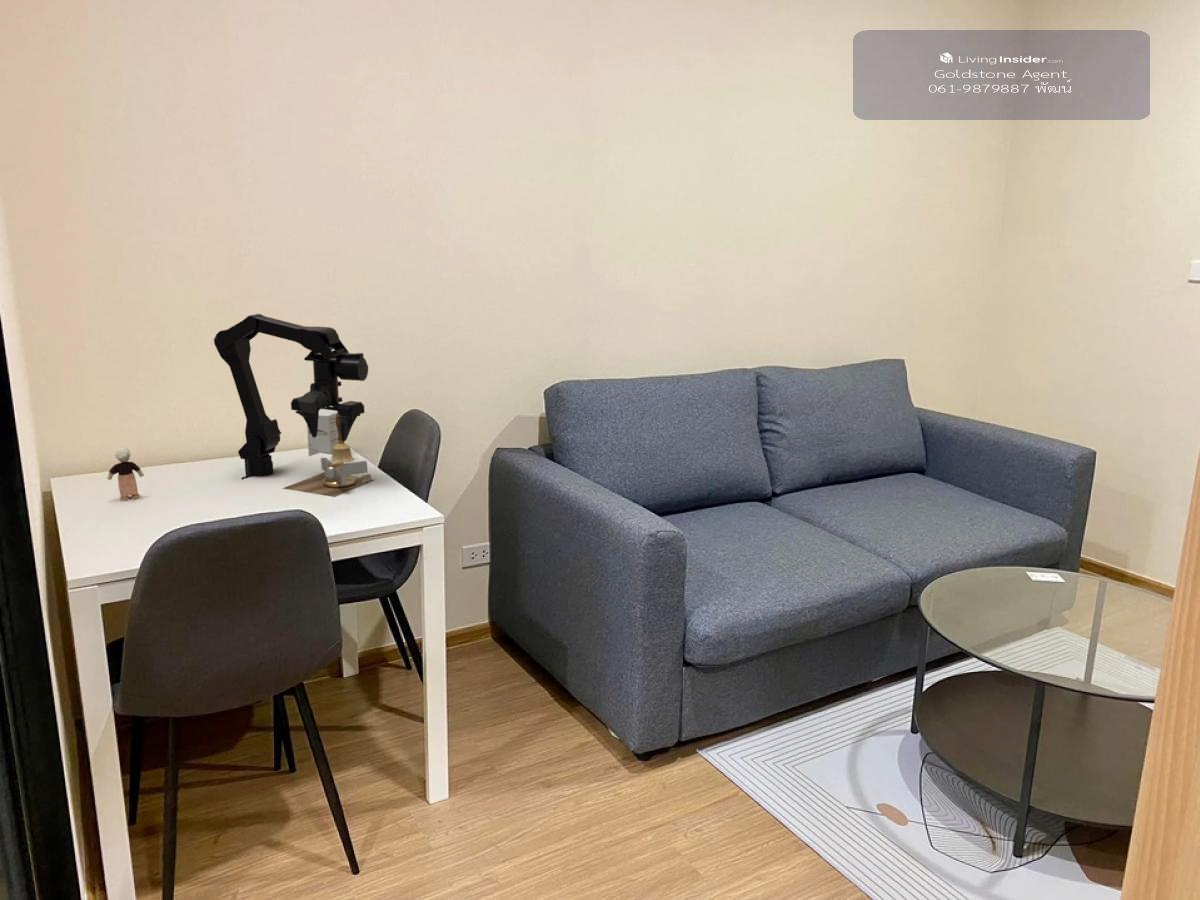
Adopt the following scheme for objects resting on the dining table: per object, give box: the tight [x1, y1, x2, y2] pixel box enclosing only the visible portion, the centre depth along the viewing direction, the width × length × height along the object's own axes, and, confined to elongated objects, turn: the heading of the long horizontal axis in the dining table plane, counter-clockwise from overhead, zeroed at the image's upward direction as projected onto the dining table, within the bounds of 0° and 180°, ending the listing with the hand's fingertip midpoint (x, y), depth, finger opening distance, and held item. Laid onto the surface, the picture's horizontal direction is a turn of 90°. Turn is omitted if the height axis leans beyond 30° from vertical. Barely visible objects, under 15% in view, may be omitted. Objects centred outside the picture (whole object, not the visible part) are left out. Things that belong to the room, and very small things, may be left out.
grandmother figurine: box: [107, 447, 144, 501], centre depth 222 cm, size 8×4×13 cm, turn 134°
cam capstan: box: [320, 457, 369, 487], centre depth 234 cm, size 11×17×5 cm, turn 32°
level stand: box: [282, 472, 375, 498], centre depth 233 cm, size 16×16×3 cm
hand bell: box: [329, 412, 355, 464], centre depth 254 cm, size 8×8×16 cm
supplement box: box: [306, 409, 338, 457], centre depth 265 cm, size 7×7×13 cm
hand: (329, 439), depth 235 cm, fingers open, 9 cm apart
